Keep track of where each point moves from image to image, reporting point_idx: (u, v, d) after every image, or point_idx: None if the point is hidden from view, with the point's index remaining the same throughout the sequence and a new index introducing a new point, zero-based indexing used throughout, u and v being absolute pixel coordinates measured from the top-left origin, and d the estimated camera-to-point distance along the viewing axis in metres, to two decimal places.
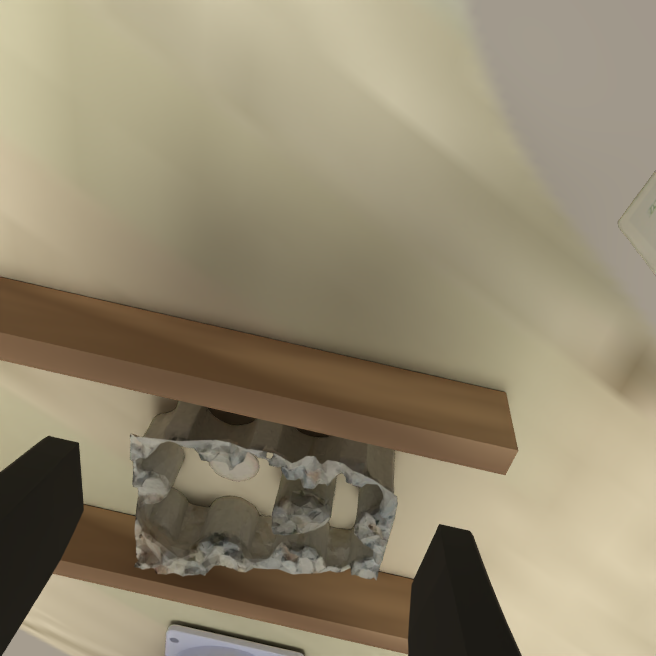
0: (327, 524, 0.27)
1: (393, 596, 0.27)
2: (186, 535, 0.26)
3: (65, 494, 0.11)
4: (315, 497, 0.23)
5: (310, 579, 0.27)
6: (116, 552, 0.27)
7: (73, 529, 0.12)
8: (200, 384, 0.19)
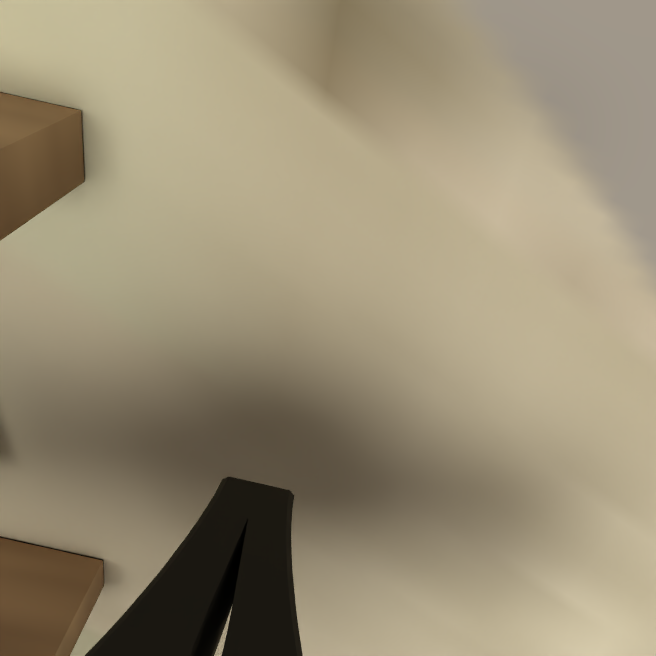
0: None
1: (41, 588, 0.15)
2: None
3: None
4: None
5: None
6: None
7: None
8: None
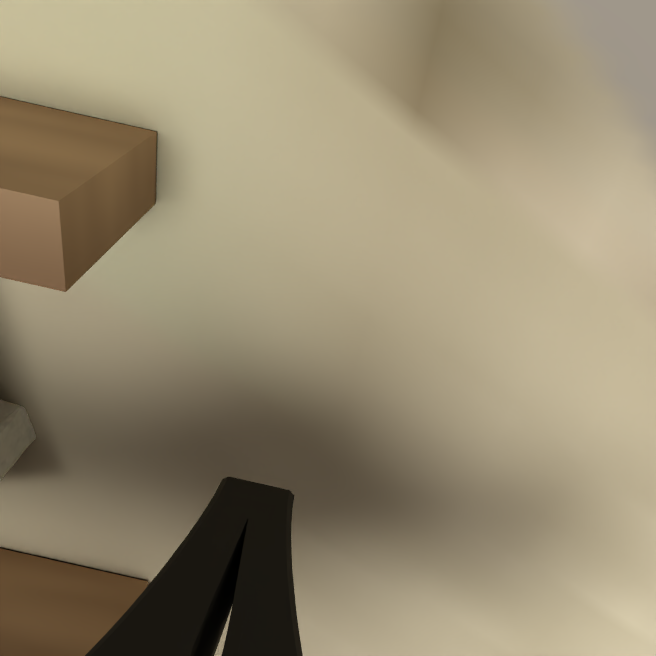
0: None
1: (88, 611, 0.15)
2: None
3: None
4: None
5: None
6: None
7: None
8: None
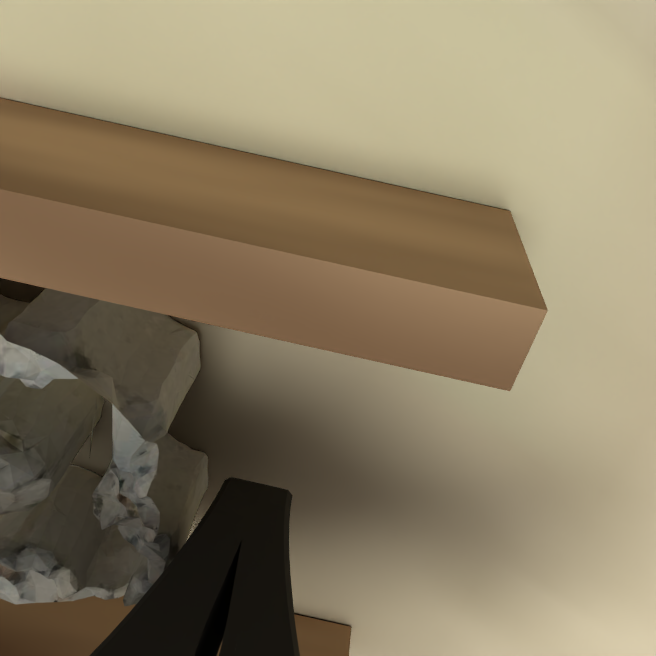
0: None
1: None
2: None
3: None
4: None
5: None
6: None
7: None
8: None
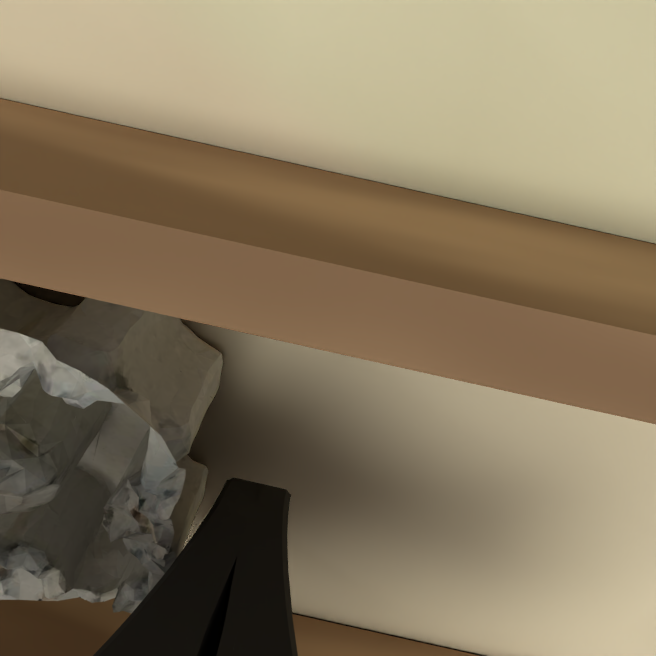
0: (100, 503, 0.14)
1: None
2: None
3: None
4: (13, 434, 0.10)
5: None
6: None
7: None
8: (104, 233, 0.07)
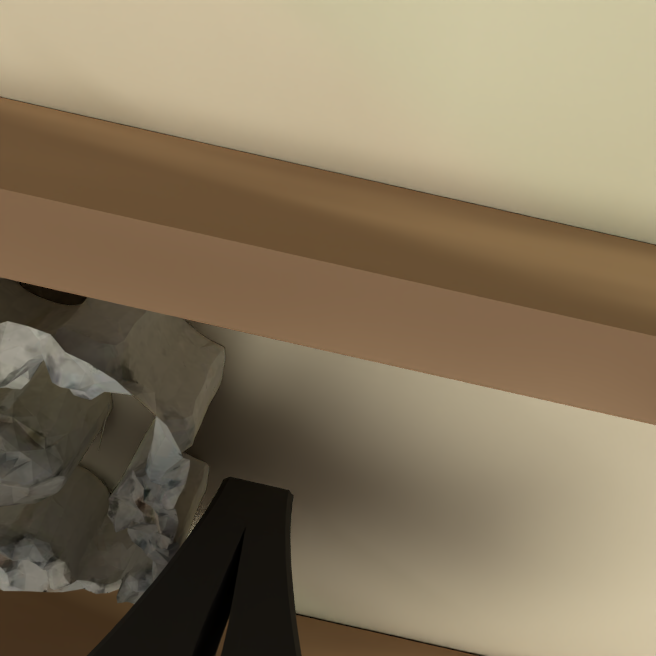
0: (103, 497, 0.14)
1: None
2: None
3: None
4: (20, 426, 0.10)
5: None
6: None
7: None
8: (312, 279, 0.07)
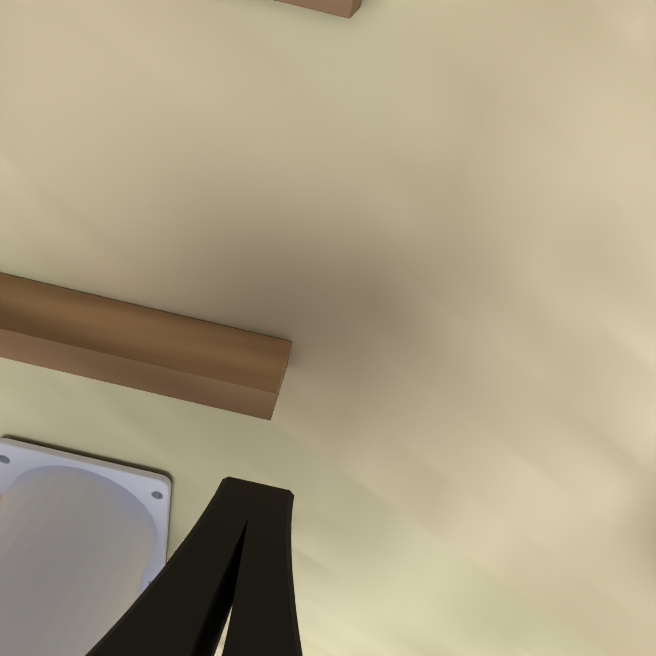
0: None
1: (254, 352, 0.20)
2: None
3: None
4: None
5: (142, 327, 0.20)
6: None
7: None
8: None
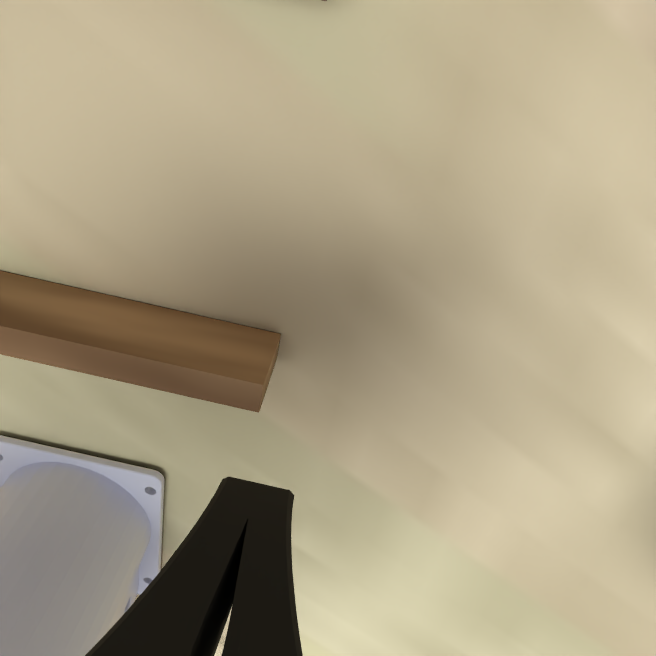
0: None
1: (243, 344, 0.20)
2: None
3: None
4: None
5: (130, 320, 0.20)
6: None
7: None
8: None
